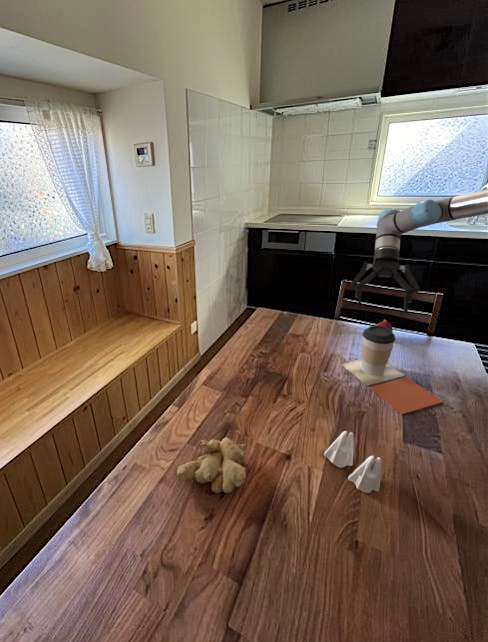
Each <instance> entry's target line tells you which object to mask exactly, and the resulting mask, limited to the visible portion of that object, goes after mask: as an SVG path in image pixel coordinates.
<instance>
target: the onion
mask: <svg viewBox="0 0 488 642" xmlns="http://www.w3.org/2000/svg"><path fill="white" fill-rule="evenodd" d="M376 326H383V327H386V328H389V329H391V330H392V333H394V329H393V327H392V325H391V323H389V322H388V321H387V320H386V319H383V321H381V322H378V323H377V324H376Z"/></svg>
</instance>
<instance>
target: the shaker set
mask: <svg viewBox="0 0 488 642" xmlns="http://www.w3.org/2000/svg"><path fill="white" fill-rule="evenodd" d="M354 448H355V436H354V433H353V432H352V431H350V432H349V433H348V431H347V430H344V431H342V432H341V433H340V435H338V436H337V438H336V439H335V440H334V441H332V443H331V444H330V446H328V448H327V449H326V450H325V451H324V453H323V455H324V457H325V458H326V459H328V460H329V461H330V462H331V464H332V465H335V466H336V467H337V468H340V469H342V468H345V467H347V466H348V467H352V466H354V452H355V449H354ZM382 467H383V465H382V458H381V457H379V456H377V458H376V459H375V455H370V456H368V457H367V458H366V459H365V460H364V461H363V462H362V463H361V464H360V465H359V466H358V467H357V468H355V470H353V472H352V473H350V474H349V475H348V477H347V480H348V481H349V482H352V483H354V485H355V487H356V489H357V490H359V491H362V493H366V494H370V493H371V492H372V491H374V492H377V491H378V492H380V487H381V478H382Z"/></svg>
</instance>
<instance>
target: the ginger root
mask: <svg viewBox="0 0 488 642" xmlns="http://www.w3.org/2000/svg"><path fill="white" fill-rule="evenodd" d="M200 444H201V445H202V446H203V447H204V451H205V452H206V453H207V454H204V455H200V456H199V457H198V458H197V460H191V461H188V462H186V463H184V464H181V465H179V466H178V467H177V470H176V476H177V479H178V480H180V481H181V482H184V483H187V482H190V481H192V480H194V479H195V481H196V482H197V483H199V484H202V485H203V484H205V483H210V486H211V487H210V488H211V492H212V493H215V494H219V493H222V492H223V493H224V494H230V493H232V492H233V491H234V490H235V488H238V487H242V486H243V485H244V484H245V483H246V480H247V474H246V470H247V469H246V468H245V467H244V466H242V465H241V464H242V463H243V462H244V461H245V456H246V453H245V452H244V451H245V450H246V449H247V448H248V445H247V444H246V443H242V444H235V442H233V441H232V440H231V438H229V437H224V438H223V439H222V440H216V439H213V438H212V439H210V440H207V439H201V440H200Z"/></svg>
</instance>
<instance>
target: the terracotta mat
mask: <svg viewBox="0 0 488 642" xmlns="http://www.w3.org/2000/svg"><path fill="white" fill-rule="evenodd" d="M369 388H370V390H372V391H373V392H374V393H375V394H376V395H378V396H379V397H380V398H382V399H383V400H384V401H385V402H386V403H388V404H389V405H390V406H391V407H392V408H394V409H395V410H397V412H399V413H400V414H401V415H407V414H409V413H413V412H416V411H421V410H423V409H427V408H430V407H435V406H438V405H441V404H444V401H443V400H442V399H440V398H439V397H437V396H436V395H434V394H432V393H431V392H429V391H428V390H427V389H425V388H424V387H422V386H421V385H419V384H418V383H417V382H415V381H413V380H412V379H411V378H409V377H403V378H399V379H395V380H391V381H387V382H384V383H380V384H376V385H372V386H369Z"/></svg>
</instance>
